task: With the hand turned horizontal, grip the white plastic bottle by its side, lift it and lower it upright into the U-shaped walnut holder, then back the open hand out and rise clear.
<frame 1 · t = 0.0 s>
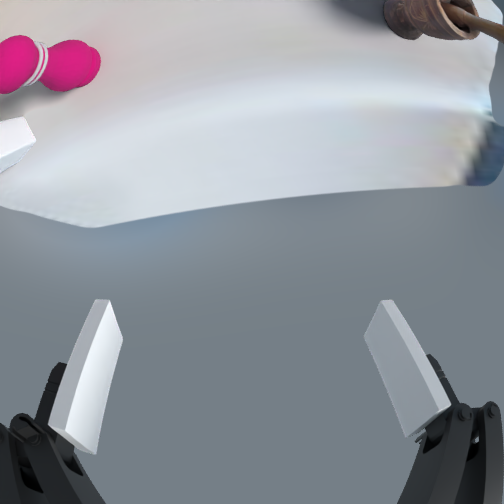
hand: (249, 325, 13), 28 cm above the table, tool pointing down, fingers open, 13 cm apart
white plastic bottle: (21, 138, 29), on the table
pepper mill: (83, 66, 25), on the table
mortar and pestle: (410, 23, 24), on the table
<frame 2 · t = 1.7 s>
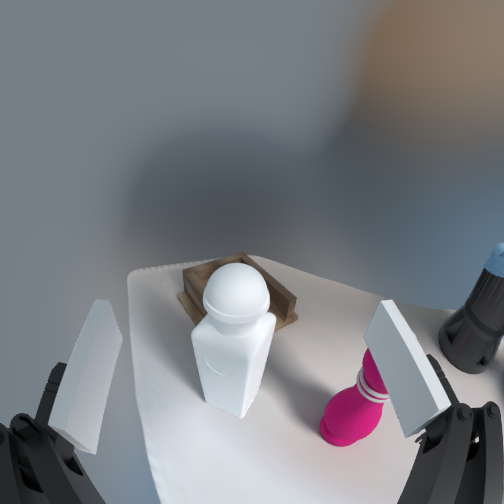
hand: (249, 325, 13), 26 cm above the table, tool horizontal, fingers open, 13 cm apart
white plastic bottle: (232, 397, 34), on the table
pepper mill: (340, 428, 30), on the table
walnut holder: (235, 309, 50), on the table
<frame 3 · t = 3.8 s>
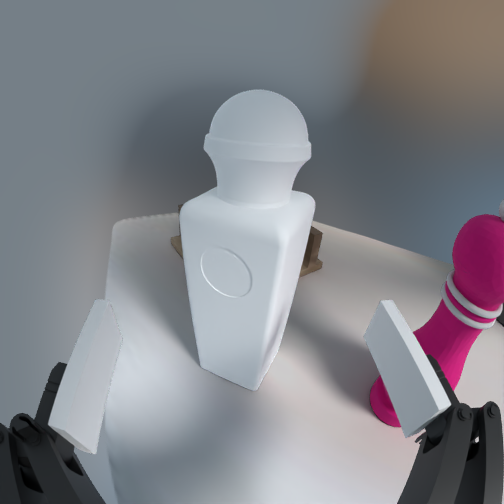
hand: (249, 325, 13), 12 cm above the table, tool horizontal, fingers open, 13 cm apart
white plastic bottle: (240, 360, 25), on the table
pepper mill: (396, 401, 20), on the table
walnut holder: (243, 255, 40), on the table
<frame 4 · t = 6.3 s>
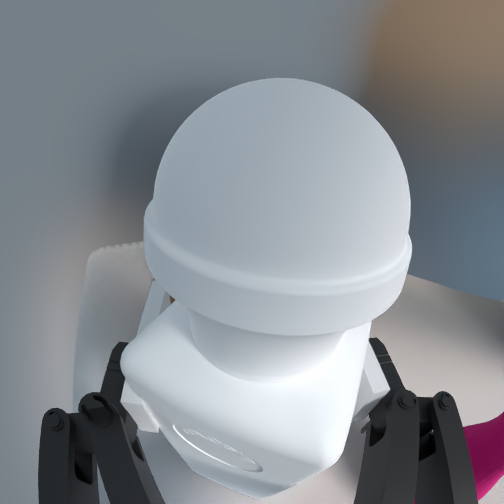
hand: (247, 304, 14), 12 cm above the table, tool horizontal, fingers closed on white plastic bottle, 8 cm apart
white plastic bottle: (242, 459, 16), on the table, touching gripper
pepper mill: (422, 487, 12), on the table
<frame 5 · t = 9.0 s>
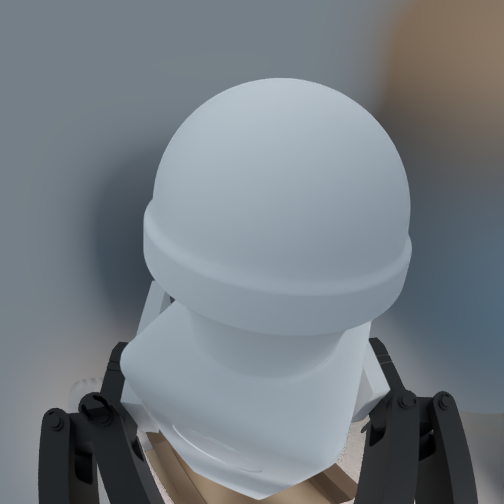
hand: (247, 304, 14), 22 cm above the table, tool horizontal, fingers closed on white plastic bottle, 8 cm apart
white plastic bottle: (242, 459, 16), point 10 cm above the table, touching gripper
walnut holder: (248, 482, 21), on the table
when the fingers open (14 cm above the table, at t = 11.7 s): white plastic bottle drops 1 cm, resting on walnut holder.
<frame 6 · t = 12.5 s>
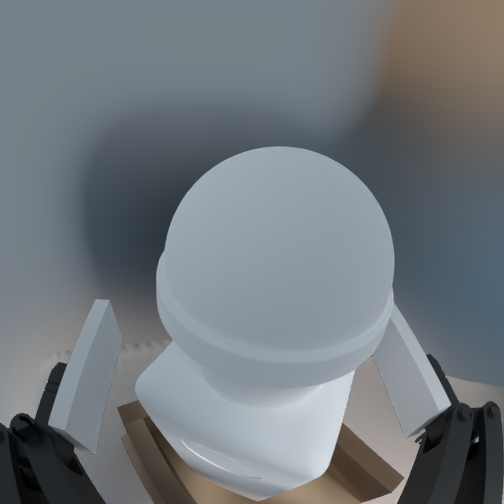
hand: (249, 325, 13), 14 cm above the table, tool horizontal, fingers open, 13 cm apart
white plastic bottle: (241, 463, 17), point 1 cm above the table, touching walnut holder
walnut holder: (251, 478, 16), on the table
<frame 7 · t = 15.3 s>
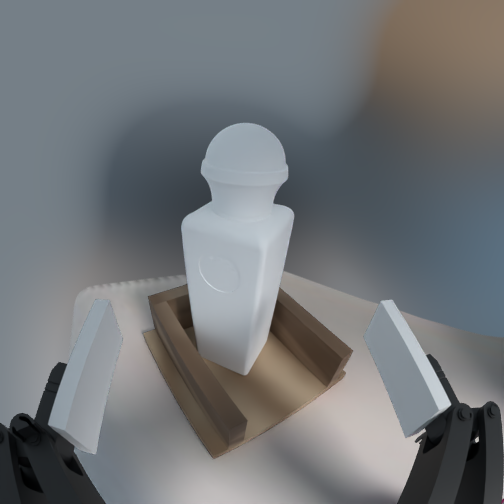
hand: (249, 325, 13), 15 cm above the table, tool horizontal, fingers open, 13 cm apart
white plastic bottle: (233, 349, 28), point 1 cm above the table, touching walnut holder
walnut holder: (240, 363, 28), on the table
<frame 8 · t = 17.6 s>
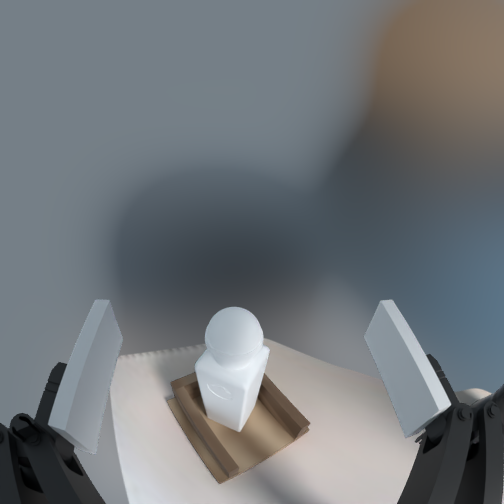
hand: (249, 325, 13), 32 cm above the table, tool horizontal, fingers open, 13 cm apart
white plastic bottle: (231, 412, 37), point 1 cm above the table, touching walnut holder
walnut holder: (236, 421, 36), on the table
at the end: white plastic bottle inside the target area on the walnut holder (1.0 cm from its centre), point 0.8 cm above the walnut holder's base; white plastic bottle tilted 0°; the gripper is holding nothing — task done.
